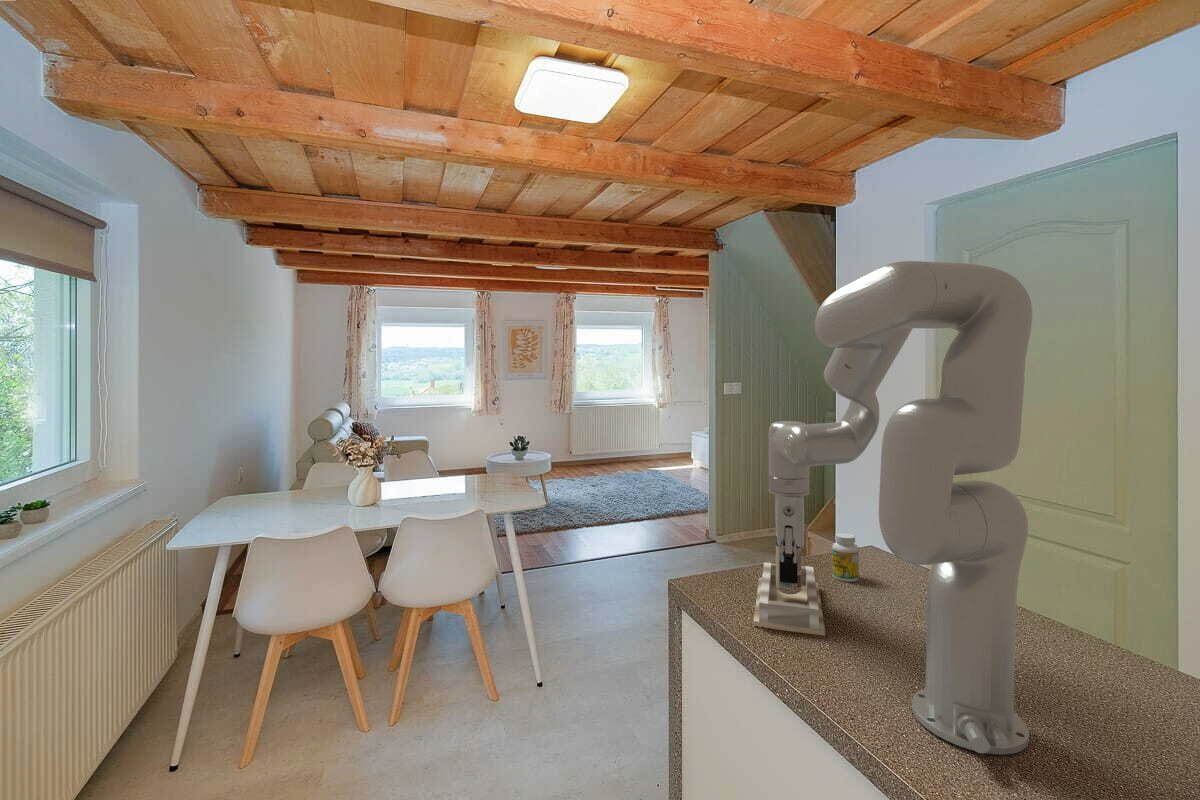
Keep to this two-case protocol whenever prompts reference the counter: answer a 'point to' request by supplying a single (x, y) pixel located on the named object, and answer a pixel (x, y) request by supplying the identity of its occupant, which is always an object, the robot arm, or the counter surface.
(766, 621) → the open rectangular box
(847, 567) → the supplement bottle
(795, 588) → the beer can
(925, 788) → the counter surface
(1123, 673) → the counter surface
